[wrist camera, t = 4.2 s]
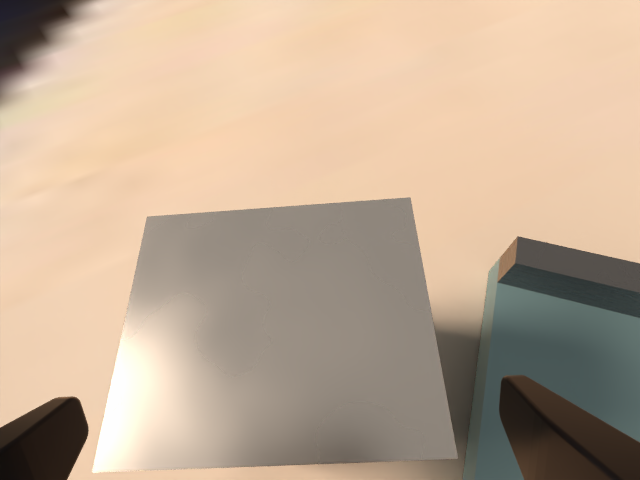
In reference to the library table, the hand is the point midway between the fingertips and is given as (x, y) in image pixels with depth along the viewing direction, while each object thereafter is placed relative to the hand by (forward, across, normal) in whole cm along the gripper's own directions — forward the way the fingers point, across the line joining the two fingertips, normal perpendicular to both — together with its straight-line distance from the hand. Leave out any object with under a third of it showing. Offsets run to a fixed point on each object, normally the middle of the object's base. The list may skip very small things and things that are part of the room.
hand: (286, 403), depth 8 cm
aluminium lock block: (+7, 0, +5) cm, 9 cm away
